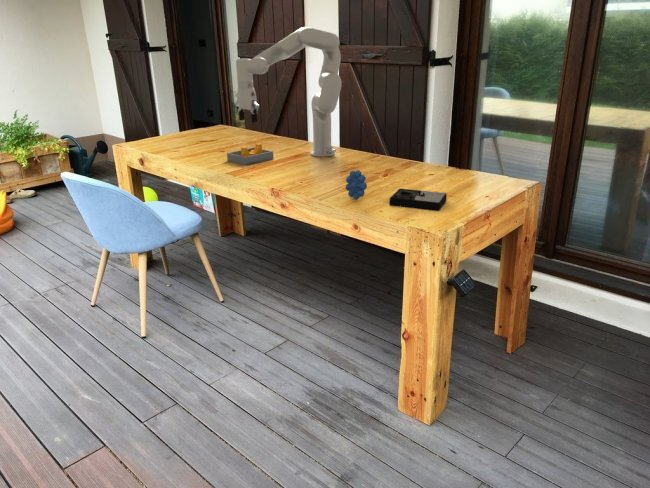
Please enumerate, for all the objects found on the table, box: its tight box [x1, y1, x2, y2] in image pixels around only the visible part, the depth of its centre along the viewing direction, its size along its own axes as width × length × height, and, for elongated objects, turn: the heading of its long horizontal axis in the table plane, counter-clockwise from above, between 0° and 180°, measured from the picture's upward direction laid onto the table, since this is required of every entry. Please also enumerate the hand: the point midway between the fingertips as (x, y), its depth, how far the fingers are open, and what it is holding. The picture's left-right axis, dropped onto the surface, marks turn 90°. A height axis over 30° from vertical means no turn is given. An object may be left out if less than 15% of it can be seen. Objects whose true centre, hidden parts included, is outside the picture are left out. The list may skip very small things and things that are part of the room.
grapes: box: [345, 169, 368, 200], centre depth 207 cm, size 12×7×12 cm, turn 37°
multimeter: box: [389, 188, 448, 212], centre depth 202 cm, size 13×19×5 cm
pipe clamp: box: [240, 143, 263, 157], centre depth 270 cm, size 12×4×6 cm, turn 141°
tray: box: [226, 147, 274, 166], centre depth 271 cm, size 15×18×4 cm
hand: (248, 120), depth 264 cm, fingers open, 9 cm apart
